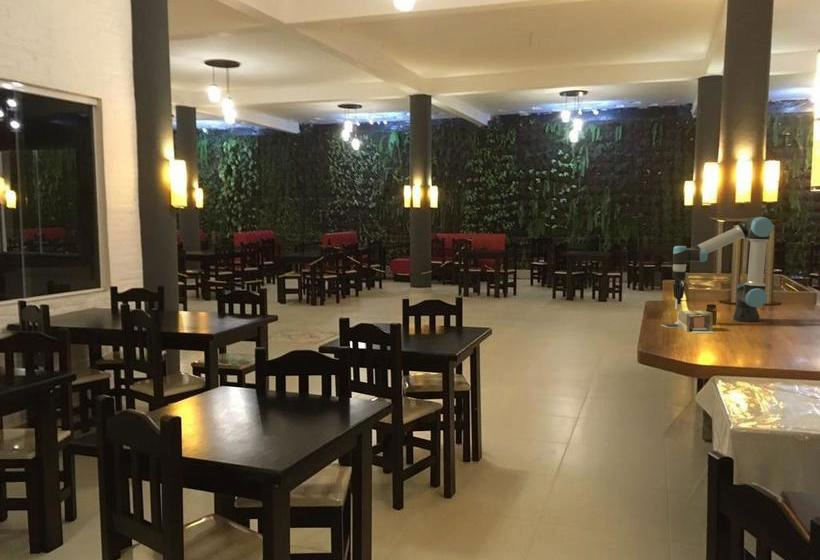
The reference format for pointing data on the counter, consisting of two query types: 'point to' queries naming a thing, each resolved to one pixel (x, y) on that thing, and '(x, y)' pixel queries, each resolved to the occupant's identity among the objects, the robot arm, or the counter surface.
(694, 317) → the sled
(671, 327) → the pad
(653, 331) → the counter surface
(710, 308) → the condiment
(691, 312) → the tunnel
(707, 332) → the mat
